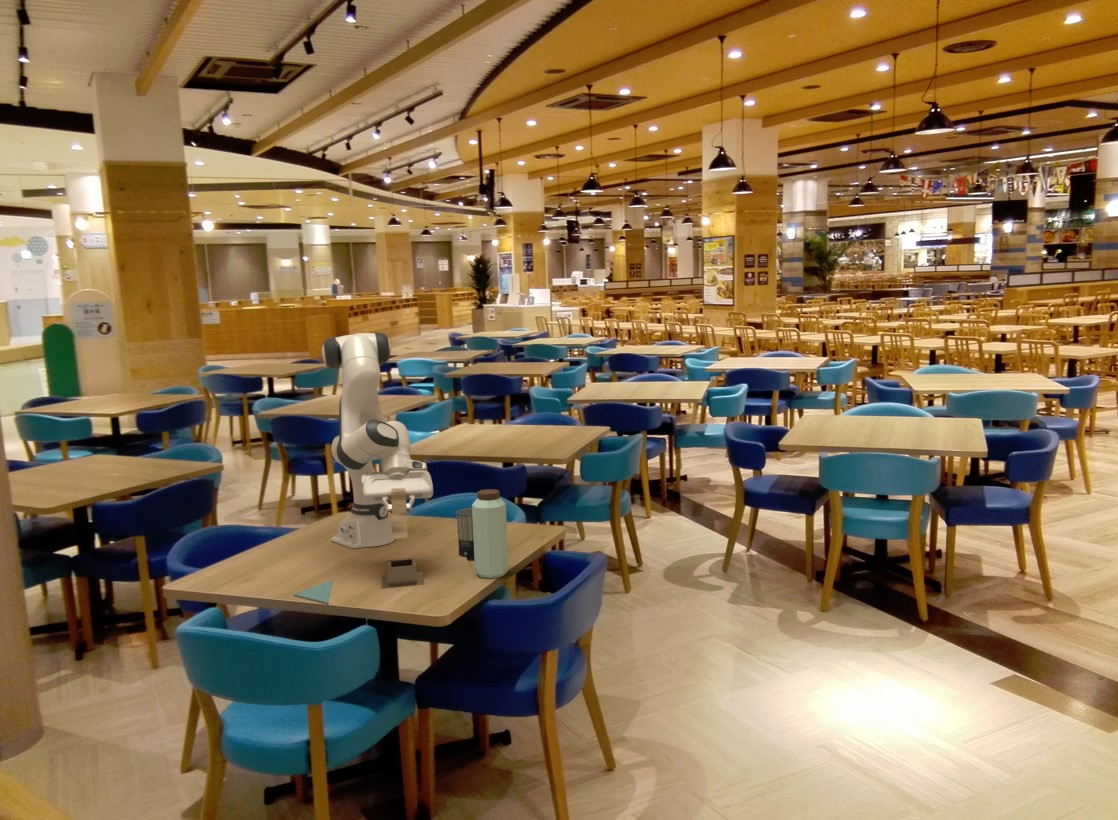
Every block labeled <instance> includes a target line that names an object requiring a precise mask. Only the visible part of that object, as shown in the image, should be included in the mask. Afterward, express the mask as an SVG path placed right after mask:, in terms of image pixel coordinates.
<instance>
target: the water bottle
mask: <svg viewBox="0 0 1118 820" xmlns="http://www.w3.org/2000/svg"><path fill="white" fill-rule="evenodd" d="M476 496H477V497H476V499H475V501H473V503H472V504H471V508H472V517H473V538H474V558H475V560H474V571H475V572H476V574H477V575H478V576H479V577H480V578H482V579H490V578H491V579H497V578H501V577H503V576H505V575H506V574H507V572H508V571H509V568H510V567H509V548H508V546H509V545H508V526H507V525H508V524H507V521H508V520H507V504H506V502H504V500H503V499H502V498H501V493H500V490H498V489H491V488H488V489H480V490H479V491H477V492H476Z"/></svg>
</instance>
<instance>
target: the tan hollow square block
mask: <svg viewBox="0 0 1118 820" xmlns="http://www.w3.org/2000/svg"><path fill="white" fill-rule="evenodd" d="M422 585H423V586H424V585H425V580H424V572H423V571H417V564H416V557H411V558H400V559H399V558H398V559H389V560H387V574H383V575H381V585H380V587H381V589H395V588H403V587H414V586H415V587H416V586H422Z"/></svg>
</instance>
